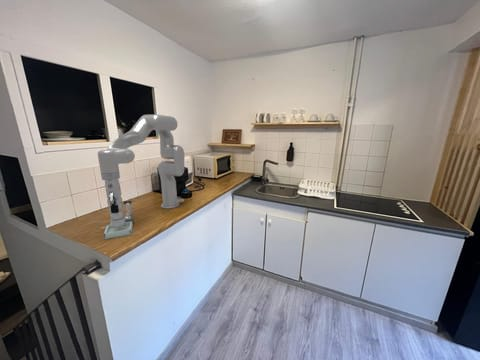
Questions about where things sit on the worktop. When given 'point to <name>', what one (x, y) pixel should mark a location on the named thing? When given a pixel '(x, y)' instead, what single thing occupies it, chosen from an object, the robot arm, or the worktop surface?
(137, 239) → the worktop surface
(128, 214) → the crank
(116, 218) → the metal bottle
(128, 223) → the tray
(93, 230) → the worktop surface
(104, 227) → the crank base
